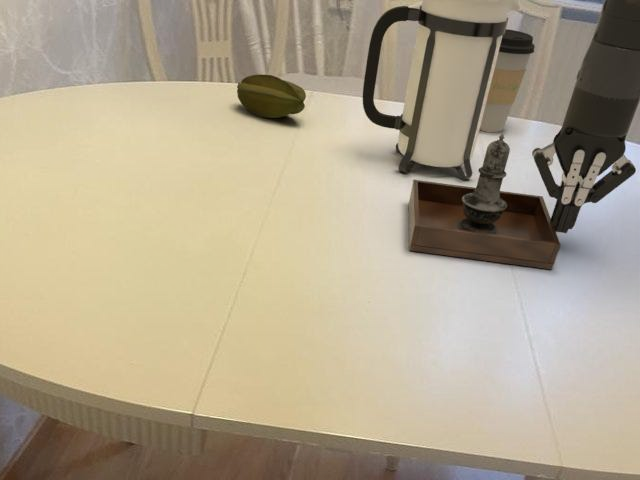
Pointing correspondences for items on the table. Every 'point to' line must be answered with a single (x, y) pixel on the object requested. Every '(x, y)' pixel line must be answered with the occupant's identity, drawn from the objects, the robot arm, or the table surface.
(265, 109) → the fruit
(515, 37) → the coffee cup
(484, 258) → the tray
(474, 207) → the salt shaker
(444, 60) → the coffee press
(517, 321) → the table surface
